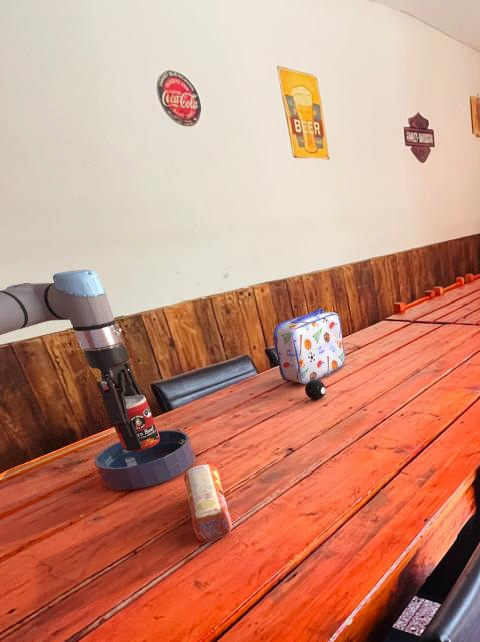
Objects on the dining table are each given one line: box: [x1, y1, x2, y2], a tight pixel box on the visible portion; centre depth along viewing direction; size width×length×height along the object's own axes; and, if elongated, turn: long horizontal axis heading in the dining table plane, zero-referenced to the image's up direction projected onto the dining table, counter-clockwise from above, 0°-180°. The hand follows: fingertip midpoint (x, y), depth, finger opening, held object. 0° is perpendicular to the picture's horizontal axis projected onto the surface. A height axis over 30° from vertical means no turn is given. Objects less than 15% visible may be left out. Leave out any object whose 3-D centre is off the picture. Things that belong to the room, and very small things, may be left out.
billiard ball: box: [304, 379, 327, 400], centre depth 157 cm, size 6×6×6 cm
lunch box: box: [272, 308, 346, 385], centre depth 174 cm, size 28×10×22 cm, turn 159°
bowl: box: [94, 429, 197, 491], centre depth 121 cm, size 19×19×6 cm
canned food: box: [113, 394, 160, 452], centre depth 117 cm, size 8×8×11 cm
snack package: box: [183, 463, 233, 543], centre depth 102 cm, size 21×7×7 cm, turn 31°
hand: (140, 440), depth 119 cm, fingers closed on canned food, 8 cm apart
